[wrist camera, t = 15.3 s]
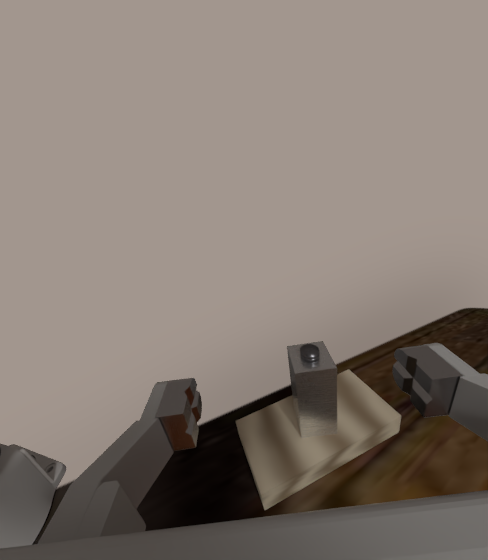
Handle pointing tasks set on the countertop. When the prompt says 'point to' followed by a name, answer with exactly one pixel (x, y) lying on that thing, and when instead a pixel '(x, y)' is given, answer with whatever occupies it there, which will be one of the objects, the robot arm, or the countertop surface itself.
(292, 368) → the aluminium block
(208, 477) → the countertop surface
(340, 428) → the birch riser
